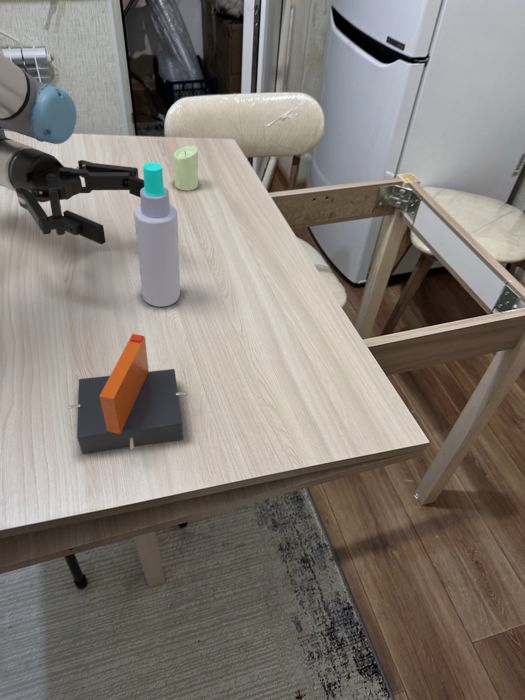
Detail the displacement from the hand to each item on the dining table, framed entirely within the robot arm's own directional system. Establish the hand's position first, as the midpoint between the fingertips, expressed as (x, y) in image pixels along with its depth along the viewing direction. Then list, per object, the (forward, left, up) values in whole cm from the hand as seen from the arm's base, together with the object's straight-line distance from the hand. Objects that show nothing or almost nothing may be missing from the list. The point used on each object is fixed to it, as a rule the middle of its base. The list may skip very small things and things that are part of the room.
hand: (135, 215), depth 71 cm
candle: (-23, +29, -14) cm, 40 cm away
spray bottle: (+4, +1, -14) cm, 14 cm away
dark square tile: (+21, -17, -14) cm, 30 cm away
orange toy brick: (+21, -17, -10) cm, 29 cm away
